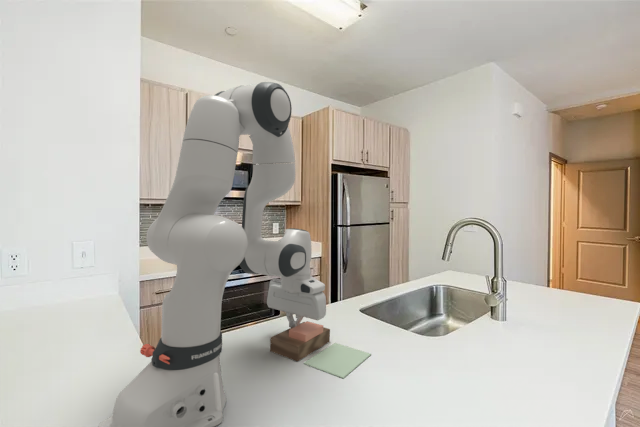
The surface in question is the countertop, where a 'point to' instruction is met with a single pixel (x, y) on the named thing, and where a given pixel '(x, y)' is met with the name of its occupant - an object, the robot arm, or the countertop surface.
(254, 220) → the robot arm
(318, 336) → the brown wooden block
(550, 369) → the countertop surface
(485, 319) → the countertop surface
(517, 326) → the countertop surface
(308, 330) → the salmon pink eraser
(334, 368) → the mat
